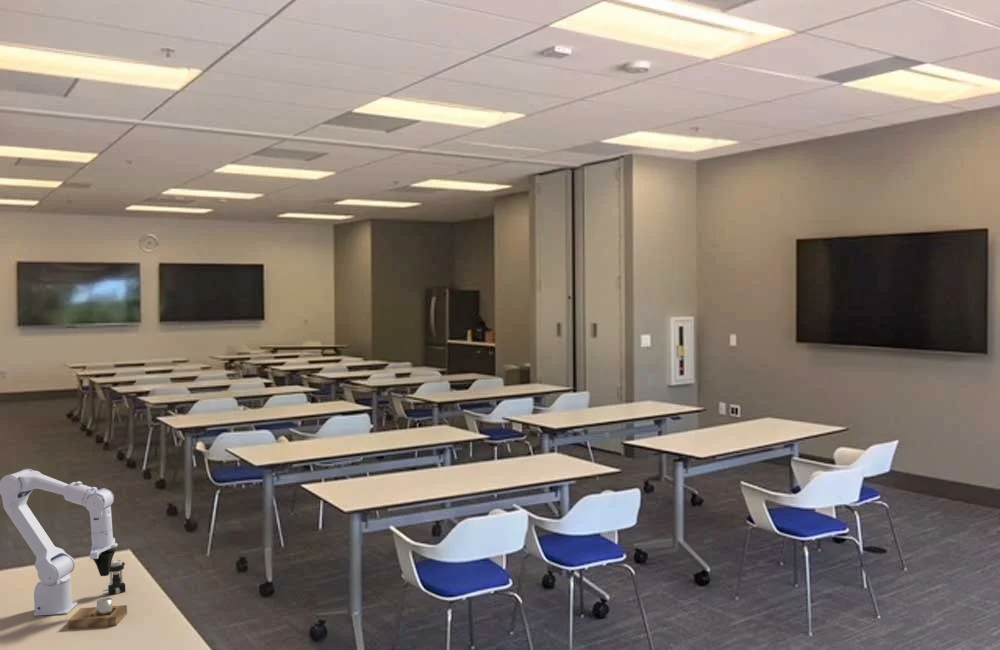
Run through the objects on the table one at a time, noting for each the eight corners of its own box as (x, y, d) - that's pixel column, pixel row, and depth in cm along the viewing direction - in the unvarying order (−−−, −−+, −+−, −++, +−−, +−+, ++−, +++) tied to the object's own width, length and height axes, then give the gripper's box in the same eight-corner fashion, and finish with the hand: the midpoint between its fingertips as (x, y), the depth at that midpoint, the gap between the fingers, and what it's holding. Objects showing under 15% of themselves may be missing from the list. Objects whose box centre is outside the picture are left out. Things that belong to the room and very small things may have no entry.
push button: (104, 598, 253) (103, 566, 253) (101, 593, 258) (100, 562, 257) (127, 592, 257) (126, 561, 257) (124, 588, 262) (122, 557, 261)
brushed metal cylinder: (95, 624, 233) (94, 603, 233) (100, 618, 237) (99, 598, 237) (110, 622, 234) (109, 602, 233) (114, 617, 237) (113, 597, 237)
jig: (68, 628, 230) (67, 620, 230) (81, 616, 239) (80, 608, 239) (116, 625, 231) (115, 617, 231) (127, 613, 240) (126, 605, 240)
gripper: (106, 536, 236) (109, 582, 237) (124, 522, 250) (127, 566, 251) (81, 538, 235) (84, 584, 236) (100, 524, 250) (103, 568, 250)
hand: (104, 575), depth 243 cm, fingers closed
